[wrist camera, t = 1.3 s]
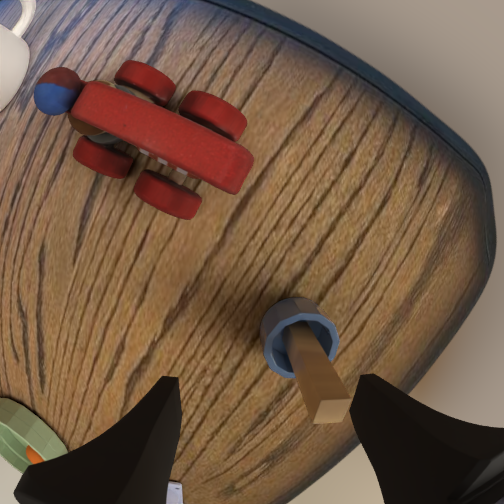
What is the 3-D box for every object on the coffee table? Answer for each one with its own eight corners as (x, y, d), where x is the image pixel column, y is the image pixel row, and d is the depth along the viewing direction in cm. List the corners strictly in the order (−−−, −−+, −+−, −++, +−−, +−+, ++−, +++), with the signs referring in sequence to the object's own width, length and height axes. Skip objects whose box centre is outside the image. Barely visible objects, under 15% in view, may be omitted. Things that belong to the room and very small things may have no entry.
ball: (55, 457, 22) (47, 474, 19) (36, 449, 22) (27, 464, 19) (48, 443, 22) (38, 459, 19) (28, 434, 22) (18, 449, 18)
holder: (317, 357, 22) (328, 378, 19) (255, 354, 21) (259, 377, 18) (332, 299, 21) (346, 315, 18) (265, 293, 20) (271, 310, 17)
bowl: (80, 474, 24) (71, 497, 19) (13, 444, 23) (1, 462, 18) (56, 416, 22) (40, 442, 17) (-15, 382, 20) (-33, 400, 16)
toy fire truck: (118, 67, 16) (49, -5, 6) (267, 139, 18) (307, 84, 8) (70, 149, 17) (-30, 130, 7) (213, 230, 19) (194, 272, 9)
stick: (302, 340, 21) (342, 422, 12) (281, 339, 21) (312, 424, 12) (307, 321, 20) (352, 398, 12) (286, 320, 20) (320, 400, 12)
